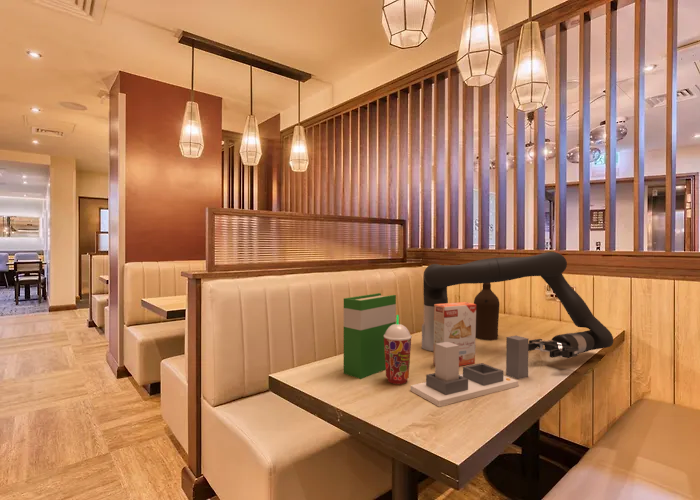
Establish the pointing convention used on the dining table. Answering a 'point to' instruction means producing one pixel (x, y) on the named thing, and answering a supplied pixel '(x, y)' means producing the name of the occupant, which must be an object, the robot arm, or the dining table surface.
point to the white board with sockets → (459, 379)
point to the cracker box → (456, 328)
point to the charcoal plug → (517, 357)
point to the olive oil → (487, 313)
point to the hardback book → (366, 333)
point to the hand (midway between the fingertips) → (538, 350)
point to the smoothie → (397, 353)
